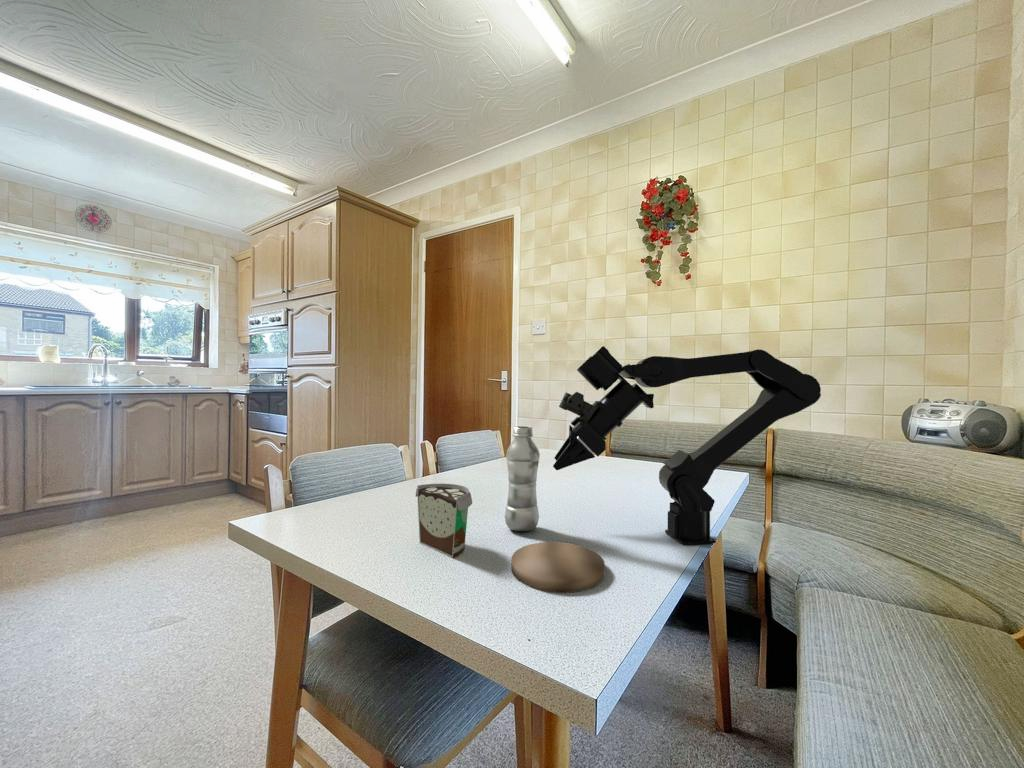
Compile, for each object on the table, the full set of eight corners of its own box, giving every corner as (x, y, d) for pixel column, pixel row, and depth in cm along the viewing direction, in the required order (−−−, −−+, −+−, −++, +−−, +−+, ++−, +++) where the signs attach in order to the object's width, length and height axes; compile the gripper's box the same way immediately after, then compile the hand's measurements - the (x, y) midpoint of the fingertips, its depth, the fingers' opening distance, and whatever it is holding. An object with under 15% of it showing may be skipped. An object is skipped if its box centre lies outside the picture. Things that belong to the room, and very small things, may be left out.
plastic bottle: (503, 524, 81) (504, 425, 82) (536, 523, 82) (537, 425, 82) (505, 535, 75) (506, 428, 75) (541, 535, 75) (542, 428, 76)
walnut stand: (585, 548, 69) (585, 540, 69) (620, 588, 55) (620, 577, 55) (504, 553, 67) (505, 544, 67) (520, 596, 53) (520, 584, 53)
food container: (486, 550, 68) (487, 491, 68) (458, 561, 64) (459, 497, 64) (442, 532, 76) (443, 479, 77) (414, 540, 72) (415, 485, 72)
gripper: (582, 379, 86) (530, 429, 88) (586, 376, 68) (521, 439, 69) (619, 416, 85) (566, 466, 87) (634, 423, 67) (566, 487, 68)
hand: (555, 463), depth 78 cm, fingers open, 9 cm apart
